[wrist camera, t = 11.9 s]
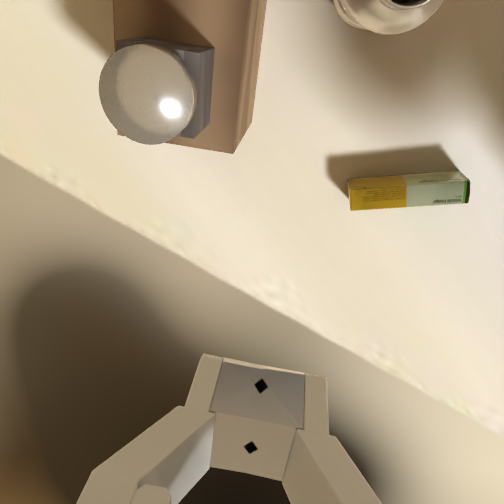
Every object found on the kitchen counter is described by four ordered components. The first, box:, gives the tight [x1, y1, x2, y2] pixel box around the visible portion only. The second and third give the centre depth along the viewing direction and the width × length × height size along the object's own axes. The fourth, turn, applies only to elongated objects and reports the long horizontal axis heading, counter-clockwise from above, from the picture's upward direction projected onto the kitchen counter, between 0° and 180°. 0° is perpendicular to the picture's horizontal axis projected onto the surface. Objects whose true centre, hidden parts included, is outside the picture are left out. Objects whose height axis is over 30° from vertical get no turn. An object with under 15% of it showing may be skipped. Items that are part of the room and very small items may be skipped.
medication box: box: [347, 170, 470, 211], centre depth 46 cm, size 12×3×4 cm, turn 98°
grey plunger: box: [99, 43, 197, 145], centre depth 30 cm, size 6×6×6 cm
